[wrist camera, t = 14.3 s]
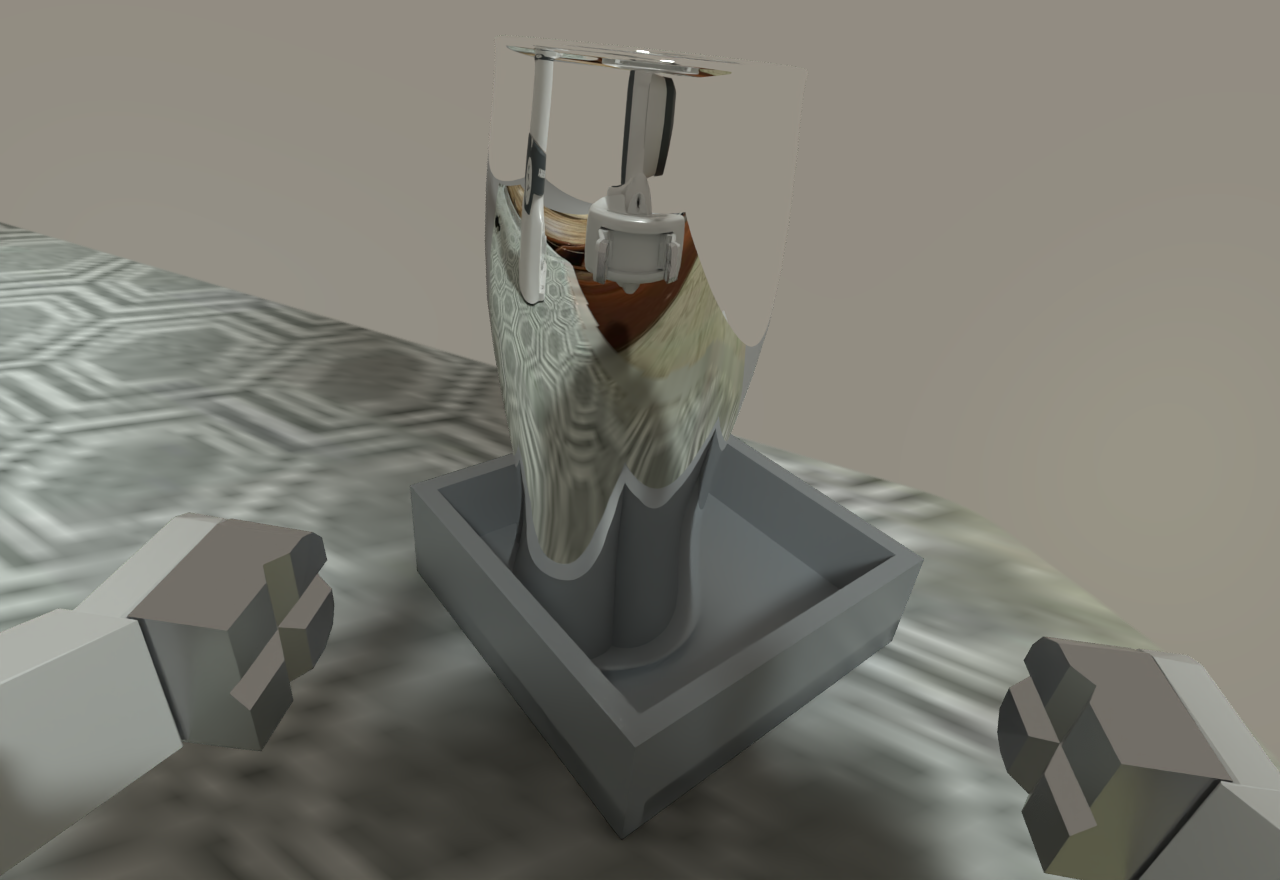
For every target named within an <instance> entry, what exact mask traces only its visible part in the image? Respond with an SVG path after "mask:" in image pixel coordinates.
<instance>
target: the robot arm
mask: <svg viewBox="0 0 1280 880" xmlns="http://www.w3.org/2000/svg"><path fill="white" fill-rule="evenodd" d="M326 561H327V558H326V553H325V549H324V544H323V540H322V537H320V536H318V535H317V534H315V533H313V532H308V531H302V530H296V529H290V528H284V527H278V526H272V525H266V524H260V523H254V522H248V521H242V520H236V519H224V518H218V517H213V516H207V515H201V514H195V513H190V512H189V513H186V514H183V515H179V516H176V517H174V518H173V519H172V520H170V521H169V522H168V523H167V524H166V525H165V526H164V527H163V528H162V529H161V530H160V531H159V532H157V533H156V534H155V535H154V536H153V537H152V538H151V539H150V540H149V541H148V542H147V543H146V544H144V545H143V546H142V547H141V548H140V549H139V550H138V551H137V552H136V553H135V554H134V555H133V556H131V557H130V558H129V559H128V560H127V561H126V562H125V563H124V564H123V565H122V566H121V567H120V568H118V569H117V570H116V571H115V572H114V573H113V574H112V575H111V576H110V577H109V578H108V579H107V580H105V581H104V582H103V583H102V584H101V585H100V586H99V587H98V588H97V589H96V590H95V591H94V592H92V593H91V594H90V595H89V596H88V597H87V598H86V599H85V600H84V601H83V602H82V603H81V604H79V605H78V606H77V607H76V608H75V609H74V610H67V609H59V608H58V609H56V610H54V611H51V612H49V613H46V614H44V615H41V616H39V617H37V618H34V619H32V620H29V621H27V622H24V623H22V624H20V625H17V626H15V627H12V628H10V629H7V630H5V631H3V632H0V876H1V875H2V874H4V873H5V872H7V871H8V870H9V869H11V868H12V867H14V866H15V865H17V864H18V863H19V862H21V861H22V860H24V859H25V858H26V857H28V856H29V855H31V854H32V853H33V852H35V851H36V850H38V849H39V848H41V847H42V846H43V845H45V844H46V843H48V842H49V841H50V840H52V839H53V838H55V837H56V836H57V835H59V834H60V833H62V832H63V831H65V830H66V829H67V828H69V827H70V826H72V825H73V824H74V823H76V822H77V821H79V820H80V819H81V818H83V817H84V816H86V815H87V814H89V813H90V812H91V811H93V810H94V809H96V808H97V807H98V806H100V805H101V804H103V803H104V802H105V801H107V800H108V799H110V798H111V797H113V796H114V795H115V794H117V793H118V792H120V791H121V790H122V789H124V788H125V787H127V786H128V785H129V784H131V783H132V782H134V781H135V780H137V779H138V778H139V777H141V776H142V775H144V774H145V773H146V772H148V771H149V770H151V769H152V768H153V767H155V766H156V765H158V764H159V763H161V762H162V761H163V760H165V759H166V758H168V757H169V756H170V755H172V754H173V753H175V752H176V751H177V750H179V749H180V748H182V747H183V742H190V743H197V744H205V745H213V746H221V747H229V748H237V749H245V750H253V751H262V749H263V748H264V746H265V745H266V743H267V741H268V740H269V738H270V737H271V735H272V734H273V732H274V730H275V729H276V727H277V726H278V724H279V722H280V721H281V719H282V718H283V716H284V714H285V713H286V711H287V710H288V708H289V706H290V705H291V703H292V702H293V697H292V691H291V686H290V682H291V681H293V680H295V679H296V678H298V677H300V676H302V675H303V674H305V673H307V672H308V671H310V670H312V669H313V668H314V666H315V664H316V663H317V661H318V659H319V658H320V656H321V654H322V653H323V651H324V649H325V647H326V644H327V641H328V638H329V635H330V631H331V628H332V625H333V616H334V600H333V593H332V589H331V588H330V586H329V585H328V584H327V583H326V582H325V581H324V580H323V579H322V578H321V577H320V576H319V575H318V574H317V573H318V572H319V571H320V569H321V568H322V566H323V565H324V563H325V562H326ZM1024 662H1025V664H1026V667H1027V669H1028V671H1029V674H1030V677H1028V678H1026V679H1024V680H1022V681H1021V682H1019V683H1017V684H1015V685H1013V686H1012V687H1010V688H1009V689H1008V692H1007V694H1006V696H1005V698H1004V700H1003V702H1002V704H1001V707H1000V710H999V720H998V731H997V733H998V740H999V746H1000V752H1001V755H1002V758H1003V761H1004V764H1005V767H1006V770H1007V773H1008V774H1009V775H1010V776H1011V777H1012V778H1013V779H1014V780H1015V781H1016V782H1017V783H1018V784H1019V785H1020V786H1021V787H1022V788H1023V789H1024V790H1025V791H1026V792H1027V793H1028V794H1029V795H1028V797H1027V800H1026V802H1025V804H1024V807H1023V809H1022V811H1021V812H1022V814H1023V817H1024V820H1025V823H1026V825H1027V828H1028V831H1029V833H1030V836H1031V839H1032V841H1033V844H1034V847H1035V850H1036V852H1037V855H1038V858H1039V860H1040V863H1041V866H1042V869H1043V871H1044V873H1046V874H1052V875H1057V876H1062V877H1068V878H1073V879H1079V880H1280V772H1279V771H1278V770H1277V768H1276V767H1275V765H1274V764H1273V763H1272V761H1271V760H1270V758H1269V757H1268V756H1267V754H1266V753H1265V751H1264V750H1263V749H1262V747H1261V746H1260V745H1259V743H1258V742H1257V740H1256V739H1255V738H1254V736H1253V735H1252V733H1251V732H1250V731H1249V729H1248V728H1247V726H1246V725H1245V724H1244V722H1243V721H1242V720H1241V718H1240V717H1239V715H1238V714H1237V713H1236V711H1235V710H1234V708H1233V707H1232V706H1231V704H1230V703H1229V701H1228V700H1227V699H1226V697H1225V696H1224V695H1223V693H1222V692H1221V690H1220V689H1219V688H1218V686H1217V685H1216V683H1215V682H1214V681H1213V679H1212V678H1211V676H1210V675H1209V674H1208V672H1207V671H1206V670H1205V668H1204V667H1203V666H1202V665H1201V664H1200V663H1199V662H1197V661H1196V660H1194V659H1193V658H1191V657H1190V656H1188V655H1184V654H1176V653H1168V652H1160V651H1153V650H1145V649H1136V650H1135V649H1131V648H1125V647H1118V646H1110V645H1103V644H1095V643H1088V642H1081V641H1073V640H1066V639H1058V638H1051V637H1042V638H1041V639H1040V640H1038V641H1037V642H1035V643H1034V644H1033V645H1032V647H1031V648H1030V650H1029V652H1028V654H1027V656H1026V657H1025V659H1024Z"/></svg>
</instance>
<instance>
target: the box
mask: <svg viewBox="0 0 1280 880" xmlns="http://www.w3.org/2000/svg"><path fill="white" fill-rule="evenodd" d="M410 489H411V501H412V514H413V526H414V538H415V550H416V562H417V571H418V572H419V574H420V575H421V576H422V578H423V579H424V580H425V582H426V583H427V584H428V586H429V587H430V588H431V590H432V591H433V592H434V594H435V595H436V596H437V597H438V599H439V600H440V601H441V603H442V604H443V605H444V607H445V608H446V609H447V611H448V612H449V613H450V615H451V616H452V617H453V619H454V620H455V621H456V623H457V624H458V625H459V626H460V628H461V629H462V630H463V632H464V633H465V634H466V636H467V637H468V638H469V640H470V641H471V642H472V644H473V645H474V646H475V648H476V649H477V650H478V651H479V653H480V654H481V655H482V657H483V658H484V659H485V661H486V662H487V663H488V665H489V666H490V667H491V669H492V670H493V671H494V673H495V674H496V675H497V677H498V678H499V679H500V680H501V682H502V683H503V684H504V686H505V687H506V688H507V690H508V691H509V692H510V694H511V695H512V696H513V698H514V699H515V700H516V702H517V703H518V704H519V705H520V707H521V708H522V709H523V711H524V712H525V713H526V715H527V716H528V717H529V719H530V720H531V721H532V723H533V724H534V725H535V727H536V728H537V729H538V731H539V732H540V733H541V734H542V736H543V737H544V738H545V740H546V741H547V742H548V744H549V745H550V746H551V748H552V749H553V750H554V752H555V753H556V754H557V756H558V757H559V758H560V759H561V761H562V762H563V763H564V765H565V766H566V767H567V769H568V770H569V771H570V773H571V774H572V775H573V777H574V778H575V779H576V781H577V782H578V783H579V785H580V786H581V787H582V788H583V790H584V791H585V792H586V794H587V795H588V796H589V798H590V799H591V800H592V802H593V803H594V804H595V806H596V807H597V808H598V810H599V811H600V812H601V813H602V815H603V816H604V817H605V819H606V820H607V821H608V823H609V824H610V825H611V827H612V828H613V829H614V831H615V832H616V833H617V835H618V836H619V837H620V839H621V840H622V839H623V838H625V837H626V836H627V835H629V834H630V833H631V832H633V831H634V830H636V829H637V828H638V827H640V826H641V825H642V824H644V823H645V822H646V821H648V820H649V819H651V818H652V817H653V816H655V815H656V814H657V813H659V812H660V811H661V810H663V809H664V808H665V807H667V806H668V805H670V804H671V803H672V802H674V801H675V800H676V799H678V798H679V797H680V796H682V795H683V794H684V793H686V792H687V791H689V790H690V789H691V788H693V787H694V786H695V785H697V784H698V783H699V782H701V781H702V780H703V779H705V778H706V777H708V776H709V775H710V774H712V773H713V772H714V771H716V770H717V769H718V768H720V767H721V766H722V765H724V764H725V763H727V762H728V761H729V760H731V759H732V758H733V757H735V756H736V755H737V754H739V753H740V752H741V751H743V750H744V749H746V748H747V747H748V746H750V745H751V744H752V743H754V742H755V741H756V740H758V739H759V738H760V737H762V736H763V735H765V734H766V733H767V732H769V731H770V730H771V729H773V728H774V727H775V726H777V725H778V724H780V723H781V722H782V721H784V720H785V719H786V718H788V717H789V716H790V715H792V714H793V713H794V712H796V711H797V710H799V709H800V708H801V707H803V706H804V705H805V704H807V703H808V702H809V701H811V700H812V699H813V698H815V697H816V696H818V695H819V694H820V693H822V692H823V691H824V690H826V689H827V688H828V687H830V686H831V685H832V684H834V683H835V682H837V681H838V680H839V679H841V678H842V677H843V676H845V675H846V674H847V673H849V672H850V671H851V670H853V669H854V668H856V667H857V666H858V665H860V664H861V663H862V662H864V661H865V660H866V659H868V658H869V657H870V656H872V655H873V654H875V653H876V652H877V651H879V650H880V649H881V648H883V647H884V646H885V645H887V644H888V643H889V642H891V641H892V639H893V637H894V634H895V632H896V629H897V627H898V624H899V622H900V619H901V616H902V614H903V611H904V609H905V606H906V604H907V601H908V599H909V596H910V594H911V591H912V589H913V586H914V583H915V581H916V578H917V576H918V573H919V571H920V568H921V566H922V563H923V561H924V558H922V557H920V556H919V555H917V554H916V553H914V552H913V551H911V550H910V549H908V548H906V547H905V546H903V545H902V544H900V543H899V542H897V541H896V540H894V539H893V538H891V537H889V536H888V535H886V534H885V533H883V532H882V531H880V530H879V529H877V528H876V527H874V526H872V525H871V524H869V523H868V522H866V521H865V520H863V519H862V518H860V517H858V516H857V515H855V514H854V513H852V512H851V511H849V510H848V509H846V508H845V507H843V506H841V505H840V504H838V503H837V502H835V501H834V500H832V499H831V498H829V497H828V496H826V495H824V494H823V493H821V492H820V491H818V490H817V489H815V488H814V487H812V486H810V485H809V484H807V483H806V482H804V481H803V480H801V479H800V478H798V477H797V476H795V475H793V474H792V473H790V472H789V471H787V470H786V469H784V468H783V467H781V466H780V465H778V464H776V463H775V462H773V461H772V460H770V459H769V458H767V457H766V456H764V455H762V454H761V453H759V452H758V451H756V450H755V449H753V448H752V447H750V446H749V445H747V444H745V443H744V442H742V441H741V440H739V439H738V438H736V437H735V436H733V435H732V434H731V435H730V437H729V440H728V442H727V445H726V447H725V450H724V452H723V455H722V458H721V460H720V463H719V466H718V468H717V471H716V474H715V477H714V480H713V483H712V485H711V488H710V491H709V494H708V498H707V502H706V506H705V510H704V515H703V519H702V527H701V536H700V563H701V580H702V607H701V614H700V618H699V621H698V623H697V626H696V628H695V630H694V631H693V633H692V635H691V636H690V637H689V639H688V640H687V641H686V642H685V643H684V644H683V645H682V646H681V647H680V648H679V649H678V650H676V651H675V652H674V653H672V654H670V655H669V656H667V657H665V658H663V659H661V660H659V661H657V662H654V663H652V664H649V665H646V666H642V667H638V668H633V669H627V670H618V671H600V670H599V669H598V668H597V667H596V666H595V664H594V663H593V662H592V661H591V660H590V659H589V658H588V657H587V656H586V654H585V653H584V652H583V651H582V650H581V649H580V648H579V647H578V646H577V644H576V643H575V642H574V641H573V640H572V639H571V638H570V637H569V636H568V634H567V633H566V632H565V631H564V630H563V629H562V628H561V627H560V626H559V624H558V623H557V622H556V621H555V620H554V619H553V618H552V617H551V616H550V614H549V613H548V612H547V611H546V610H545V609H544V608H543V607H542V606H541V604H540V603H539V602H538V601H537V600H536V599H535V598H534V597H533V596H532V594H531V593H530V592H529V591H528V590H527V589H526V588H525V587H524V586H523V584H522V583H521V582H520V581H519V580H518V579H517V578H516V577H515V575H514V574H513V573H512V572H511V571H510V570H509V569H508V568H507V565H508V561H509V557H510V553H511V549H512V544H513V540H514V536H515V530H516V524H517V512H518V492H517V476H516V469H515V463H514V457H513V453H511V454H508V455H505V456H502V457H499V458H496V459H492V460H489V461H486V462H483V463H480V464H477V465H473V466H470V467H467V468H464V469H461V470H458V471H455V472H451V473H448V474H445V475H442V476H439V477H436V478H432V479H429V480H426V481H423V482H420V483H417V484H413V485H410Z"/></svg>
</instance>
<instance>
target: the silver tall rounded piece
mask: <svg viewBox="0 0 1280 880" xmlns="http://www.w3.org/2000/svg"><path fill="white" fill-rule="evenodd" d="M494 43H495V69H494V84H493V97H492V110H491V120H490V133H489V147H488V163H487V178H486V179H487V180H486V213H485V256H486V281H487V282H486V283H487V301H488V309H489V316H490V323H491V332H492V339H493V347H494V354H495V360H496V365H497V371H498V376H499V382H500V387H501V393H502V398H503V403H504V409H505V414H506V419H507V424H508V429H509V434H510V439H511V444H512V451H513V457H514V463H515V469H516V476H517V492H518V512H517V524H516V530H515V536H514V540H513V544H512V549H511V553H510V557H509V561H508V565H507V568H508V569H509V570H510V571H511V572H512V573H513V574H514V575H515V577H516V578H517V579H518V580H519V581H520V582H521V583H522V584H523V586H524V587H525V588H526V589H527V590H528V591H529V592H530V593H531V594H532V596H533V597H534V598H535V599H536V600H537V601H538V602H539V603H540V604H541V606H542V607H543V608H544V609H545V610H546V611H547V612H548V613H549V614H550V616H551V617H552V618H553V619H554V620H555V621H556V622H557V623H558V624H559V626H560V627H561V628H562V629H563V630H564V631H565V632H566V633H567V634H568V636H569V637H570V638H571V639H572V640H573V641H574V642H575V643H576V644H577V646H578V647H579V648H580V649H581V650H582V651H583V652H584V653H585V654H586V656H587V657H588V658H589V659H590V660H591V661H592V662H593V663H594V664H595V666H596V667H597V668H598V669H599V670H600V671H618V670H627V669H633V668H638V667H642V666H646V665H649V664H652V663H654V662H657V661H659V660H661V659H663V658H665V657H667V656H669V655H670V654H672V653H674V652H675V651H676V650H678V649H679V648H680V647H681V646H682V645H683V644H684V643H685V642H686V641H687V640H688V639H689V637H690V636H691V635H692V633H693V631H694V630H695V628H696V626H697V623H698V621H699V618H700V614H701V607H702V580H701V563H700V536H701V527H702V519H703V515H704V510H705V506H706V502H707V498H708V494H709V491H710V488H711V485H712V483H713V480H714V477H715V474H716V471H717V468H718V466H719V463H720V460H721V458H722V455H723V452H724V450H725V447H726V445H727V442H728V440H729V437H730V435H731V432H732V429H733V427H734V424H735V422H736V419H737V416H738V414H739V411H740V409H741V406H742V403H743V401H744V398H745V395H746V393H747V390H748V387H749V385H750V382H751V379H752V376H753V373H754V370H755V367H756V364H757V361H758V358H759V355H760V352H761V348H762V345H763V342H764V339H765V336H766V333H767V330H768V327H769V323H770V318H771V314H772V310H773V305H774V301H775V296H776V292H777V287H778V283H779V278H780V274H781V269H782V263H783V257H784V250H785V244H786V238H787V232H788V226H789V219H790V212H791V204H792V195H793V187H794V178H795V170H796V161H797V150H798V140H799V129H800V121H801V112H802V104H803V96H804V89H805V83H806V79H807V76H808V72H807V70H806V69H803V68H800V67H794V66H788V65H781V64H773V63H765V62H759V61H751V60H742V59H734V58H726V57H717V56H709V55H701V54H692V53H683V52H674V51H664V50H655V49H647V48H637V47H628V46H618V45H609V44H599V43H589V42H578V41H568V40H557V39H546V38H535V37H522V36H506V35H501V36H496V37H495V39H494Z"/></svg>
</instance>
